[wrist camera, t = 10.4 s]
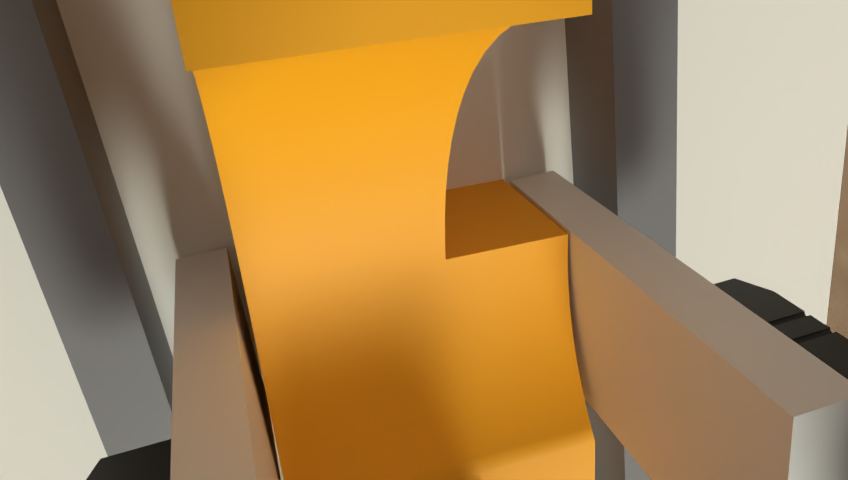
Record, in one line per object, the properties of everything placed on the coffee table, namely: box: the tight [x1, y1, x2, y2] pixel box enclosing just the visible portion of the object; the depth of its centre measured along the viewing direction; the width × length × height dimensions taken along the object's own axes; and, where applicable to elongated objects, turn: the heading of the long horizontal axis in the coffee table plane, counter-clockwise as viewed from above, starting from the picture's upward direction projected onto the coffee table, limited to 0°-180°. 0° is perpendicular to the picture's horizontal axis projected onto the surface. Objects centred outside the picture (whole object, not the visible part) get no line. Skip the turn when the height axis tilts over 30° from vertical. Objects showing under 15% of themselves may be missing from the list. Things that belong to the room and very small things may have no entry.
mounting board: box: [0, 0, 848, 480], centre depth 13 cm, size 18×20×3 cm
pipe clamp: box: [171, 0, 595, 480], centre depth 9 cm, size 12×4×6 cm, turn 6°
